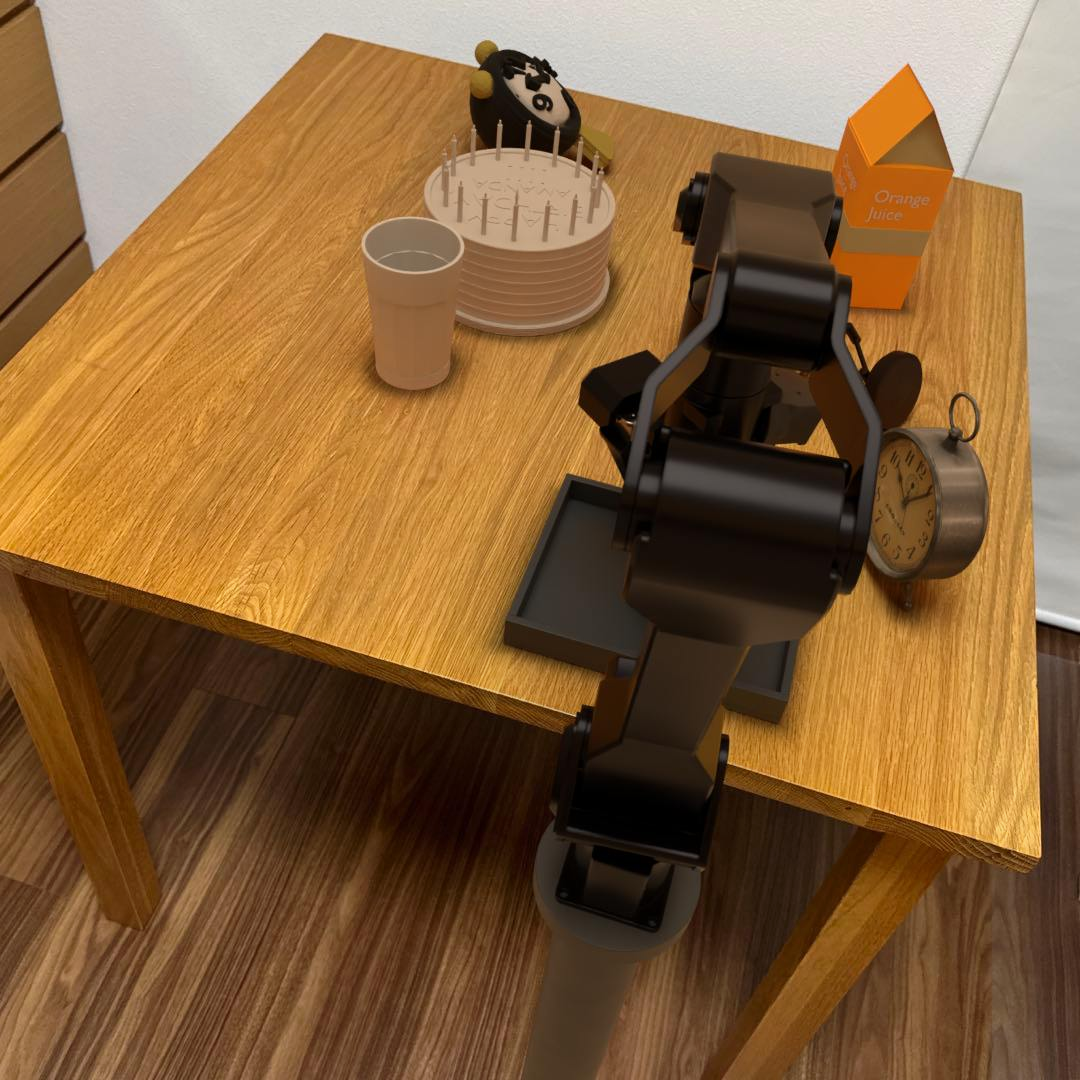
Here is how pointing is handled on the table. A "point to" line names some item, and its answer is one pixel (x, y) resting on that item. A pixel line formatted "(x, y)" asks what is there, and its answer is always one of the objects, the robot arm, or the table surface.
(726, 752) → the robot arm
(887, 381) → the light fixture
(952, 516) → the alarm clock
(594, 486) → the tray
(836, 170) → the orange juice
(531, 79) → the alarm clock
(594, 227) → the cake
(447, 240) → the cup
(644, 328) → the table surface
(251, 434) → the table surface
